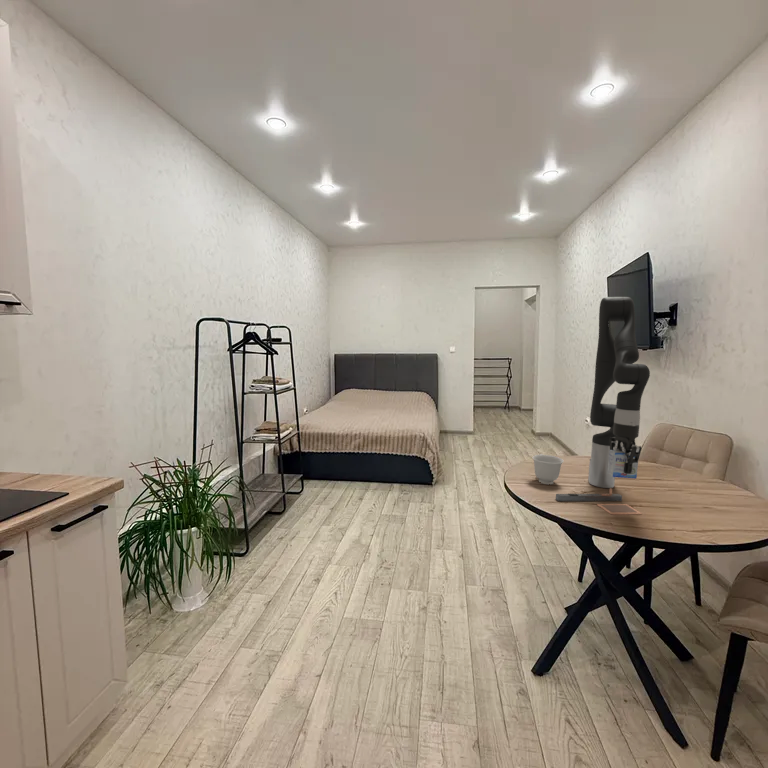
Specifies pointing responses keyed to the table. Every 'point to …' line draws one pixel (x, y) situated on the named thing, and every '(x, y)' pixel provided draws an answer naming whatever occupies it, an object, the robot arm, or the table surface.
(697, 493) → the table surface
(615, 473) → the medicine box
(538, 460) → the teacup
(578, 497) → the rail
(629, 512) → the pad
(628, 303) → the robot arm
